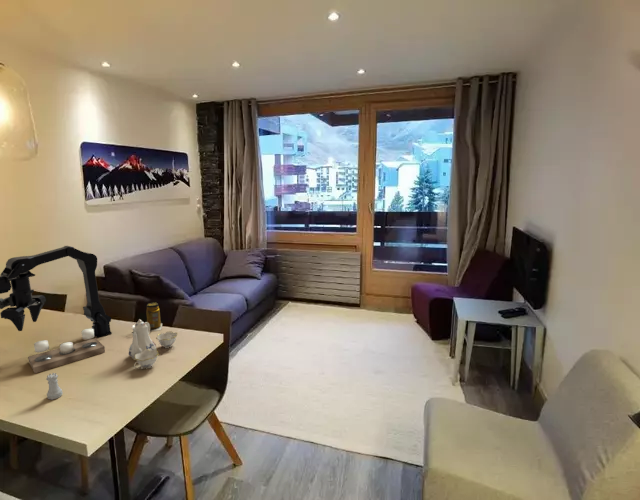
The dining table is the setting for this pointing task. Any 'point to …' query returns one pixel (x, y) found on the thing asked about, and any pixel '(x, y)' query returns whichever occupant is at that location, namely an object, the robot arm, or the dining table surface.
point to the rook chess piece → (53, 387)
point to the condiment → (153, 316)
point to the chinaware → (147, 344)
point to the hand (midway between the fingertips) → (27, 326)
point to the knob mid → (66, 347)
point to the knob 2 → (87, 333)
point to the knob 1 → (41, 346)
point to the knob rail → (65, 355)
